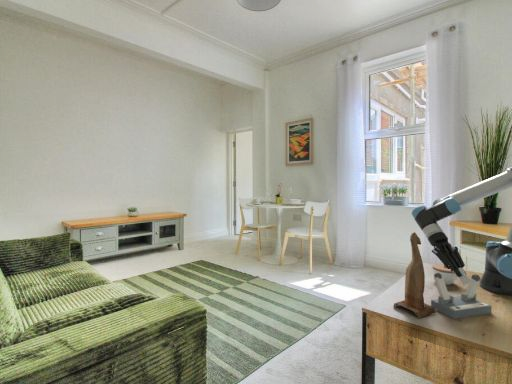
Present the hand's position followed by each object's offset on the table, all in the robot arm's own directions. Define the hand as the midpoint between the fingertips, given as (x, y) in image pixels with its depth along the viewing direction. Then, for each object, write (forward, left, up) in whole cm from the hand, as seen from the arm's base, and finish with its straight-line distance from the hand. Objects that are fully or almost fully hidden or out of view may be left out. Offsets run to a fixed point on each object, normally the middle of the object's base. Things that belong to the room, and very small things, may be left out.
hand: (467, 283), depth 115 cm
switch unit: (+4, +3, -10) cm, 11 cm away
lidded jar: (-7, -28, -10) cm, 30 cm away
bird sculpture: (+23, +5, -10) cm, 26 cm away
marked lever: (-1, 0, -6) cm, 6 cm away
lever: (+11, +4, -6) cm, 13 cm away
